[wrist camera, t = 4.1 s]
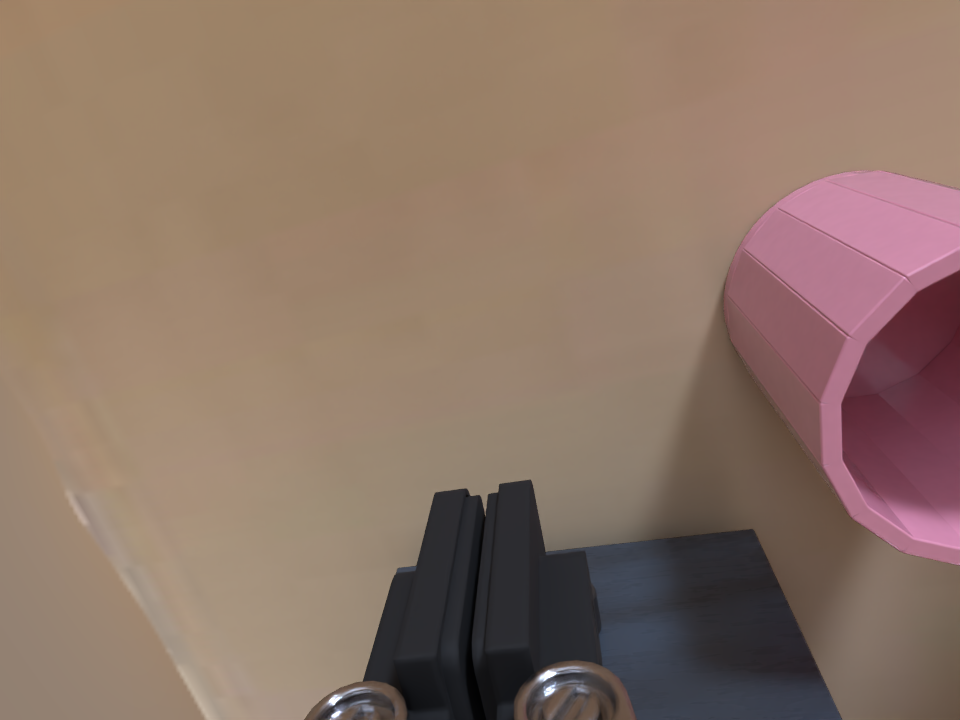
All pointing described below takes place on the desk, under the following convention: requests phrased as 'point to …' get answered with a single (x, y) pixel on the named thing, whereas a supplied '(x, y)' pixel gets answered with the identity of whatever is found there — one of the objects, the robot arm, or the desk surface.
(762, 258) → the pink cup
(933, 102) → the desk surface
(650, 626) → the drawer
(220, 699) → the desk surface
